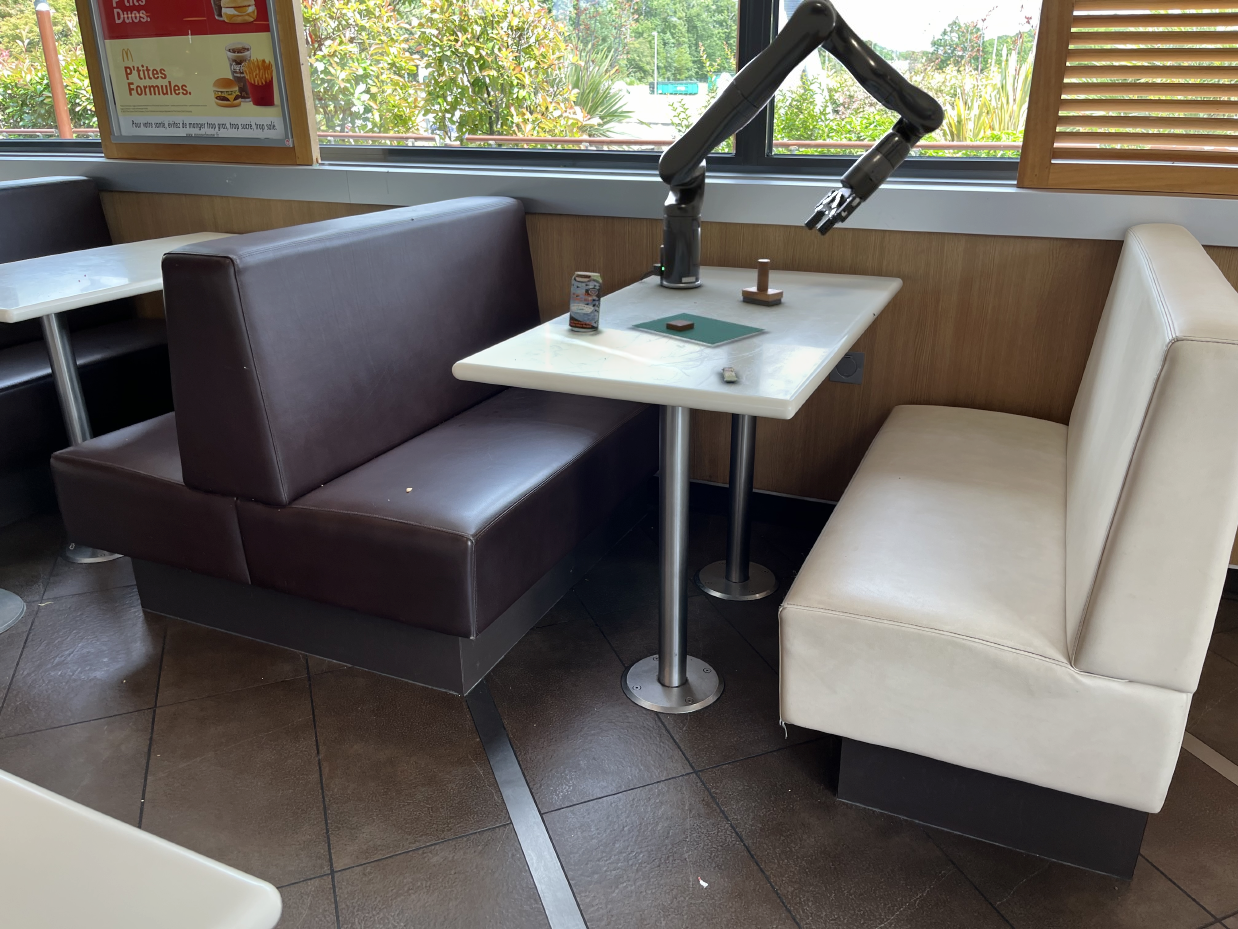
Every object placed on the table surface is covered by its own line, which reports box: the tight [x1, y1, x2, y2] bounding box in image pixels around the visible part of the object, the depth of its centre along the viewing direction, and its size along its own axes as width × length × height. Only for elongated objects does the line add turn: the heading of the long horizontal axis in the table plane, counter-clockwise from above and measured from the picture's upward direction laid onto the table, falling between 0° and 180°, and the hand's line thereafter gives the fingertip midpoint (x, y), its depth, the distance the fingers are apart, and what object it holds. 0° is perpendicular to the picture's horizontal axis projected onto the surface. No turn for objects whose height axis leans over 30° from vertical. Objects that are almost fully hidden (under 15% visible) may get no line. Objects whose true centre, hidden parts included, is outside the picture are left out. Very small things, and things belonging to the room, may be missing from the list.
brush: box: [741, 259, 784, 307], centre depth 203 cm, size 8×5×10 cm, turn 44°
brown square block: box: [666, 320, 694, 332], centre depth 180 cm, size 4×4×1 cm
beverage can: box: [568, 271, 603, 333], centre depth 179 cm, size 6×7×12 cm
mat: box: [631, 312, 766, 345], centre depth 181 cm, size 22×16×1 cm
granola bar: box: [720, 366, 739, 382], centre depth 150 cm, size 7×2×1 cm, turn 179°
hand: (813, 230), depth 200 cm, fingers open, 8 cm apart
